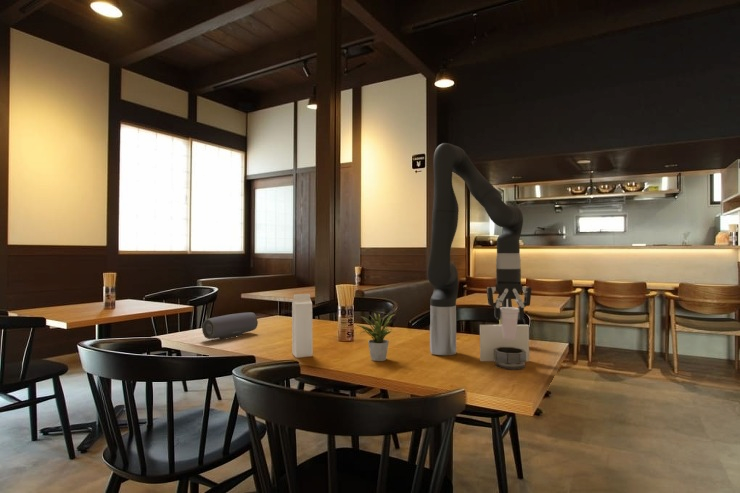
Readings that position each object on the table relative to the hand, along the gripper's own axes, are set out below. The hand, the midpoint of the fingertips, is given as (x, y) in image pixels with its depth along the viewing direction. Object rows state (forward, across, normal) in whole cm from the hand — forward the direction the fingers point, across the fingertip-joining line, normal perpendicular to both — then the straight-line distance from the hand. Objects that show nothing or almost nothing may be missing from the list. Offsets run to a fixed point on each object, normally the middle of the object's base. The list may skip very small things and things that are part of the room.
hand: (509, 319), depth 136 cm
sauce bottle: (+15, +8, +31) cm, 35 cm away
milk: (+15, -70, +13) cm, 73 cm away
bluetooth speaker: (+15, -108, +44) cm, 118 cm away
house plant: (+15, -42, +9) cm, 46 cm away
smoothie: (+6, 0, 0) cm, 6 cm away
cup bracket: (+15, 0, 0) cm, 15 cm away
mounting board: (+15, 0, +6) cm, 16 cm away
